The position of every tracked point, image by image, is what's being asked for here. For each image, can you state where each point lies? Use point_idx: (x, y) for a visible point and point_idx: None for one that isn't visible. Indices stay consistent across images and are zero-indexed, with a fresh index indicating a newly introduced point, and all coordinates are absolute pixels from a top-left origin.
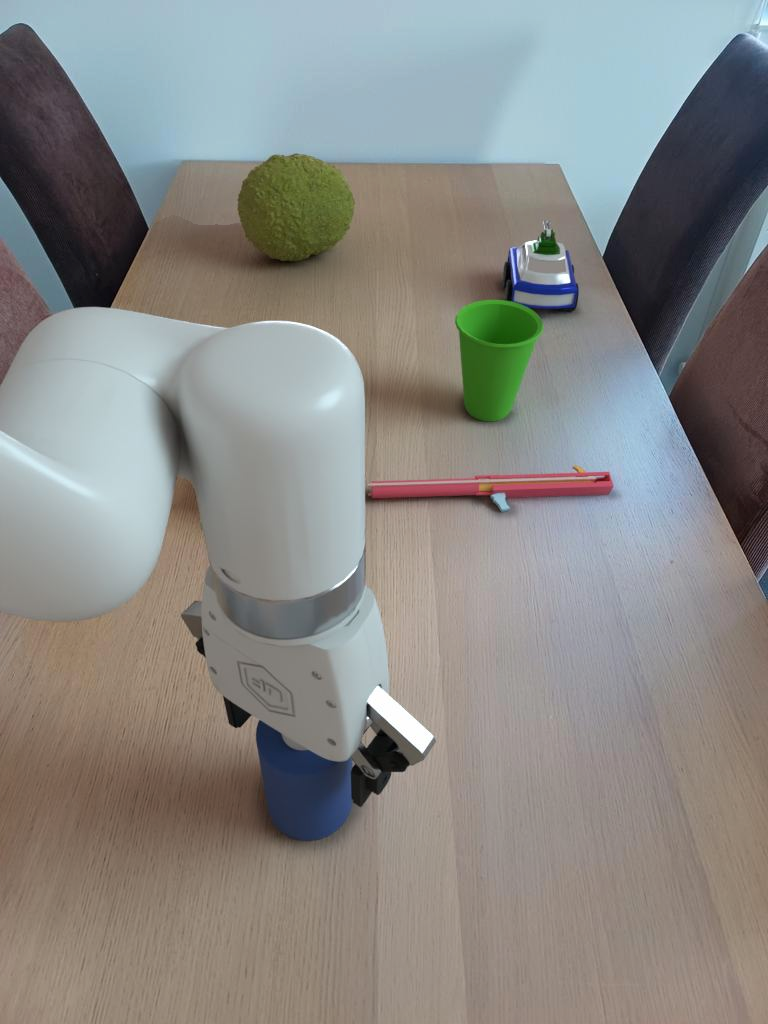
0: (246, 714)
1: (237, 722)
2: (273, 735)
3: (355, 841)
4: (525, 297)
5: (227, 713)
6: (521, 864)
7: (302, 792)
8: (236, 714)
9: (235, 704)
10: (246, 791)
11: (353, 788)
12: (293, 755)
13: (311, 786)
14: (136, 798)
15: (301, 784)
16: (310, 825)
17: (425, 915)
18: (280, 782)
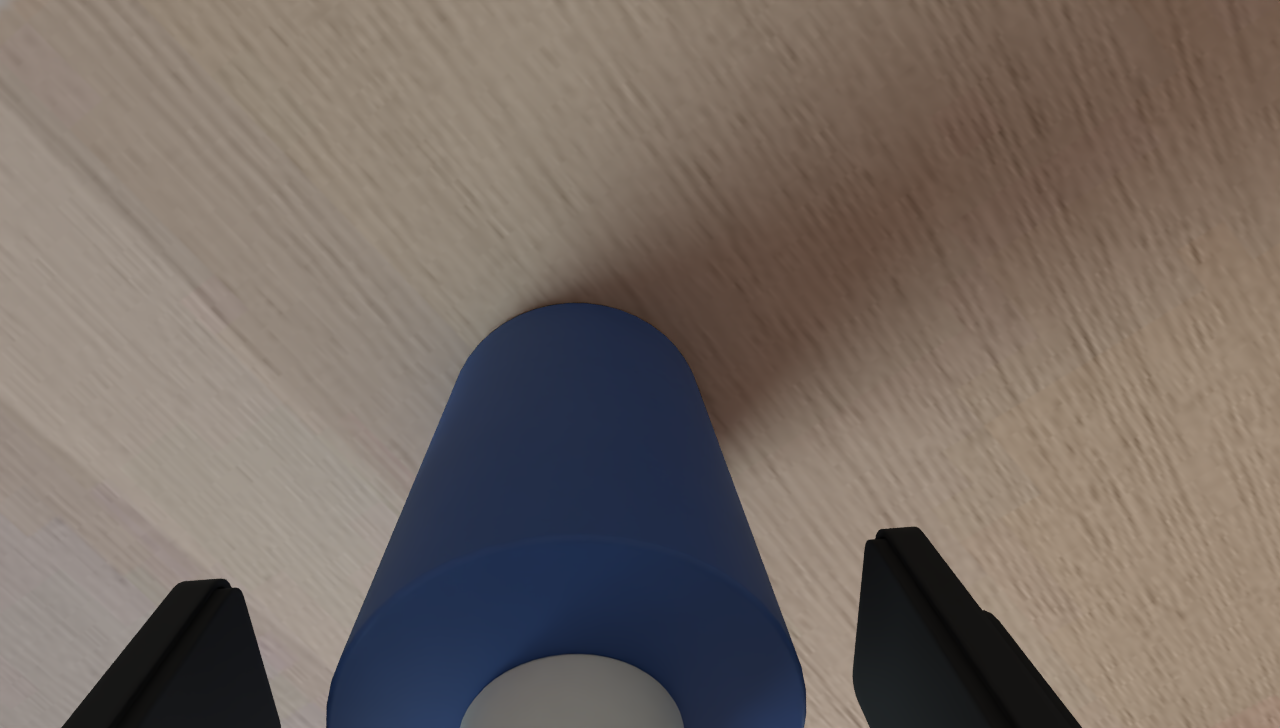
0: (877, 608)
1: (889, 568)
2: (679, 649)
3: (390, 404)
4: None
5: (960, 590)
6: (12, 601)
7: (442, 485)
8: (917, 614)
9: (956, 685)
10: (747, 332)
11: (128, 689)
12: (521, 633)
13: (402, 537)
14: (1031, 113)
15: (428, 526)
16: (474, 373)
17: (86, 360)
18: (531, 472)
